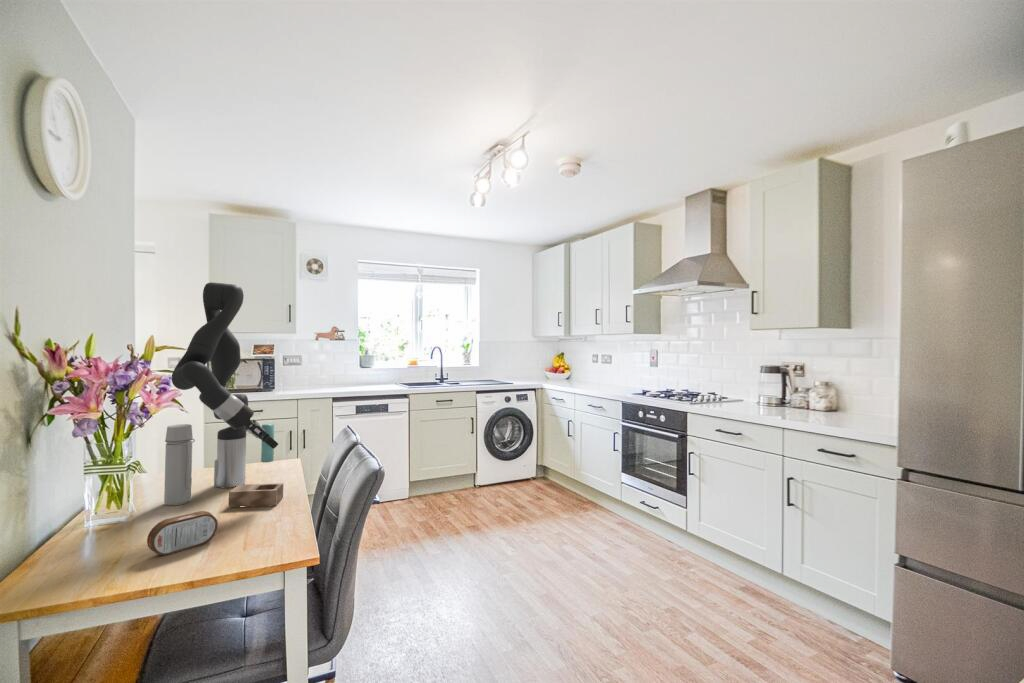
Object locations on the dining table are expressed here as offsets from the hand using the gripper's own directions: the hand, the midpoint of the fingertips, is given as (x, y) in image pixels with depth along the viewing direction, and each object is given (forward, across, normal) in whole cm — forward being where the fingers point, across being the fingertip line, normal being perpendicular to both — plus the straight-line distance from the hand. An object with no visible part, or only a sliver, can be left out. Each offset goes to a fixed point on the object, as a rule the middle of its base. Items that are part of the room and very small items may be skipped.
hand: (274, 445), depth 158 cm
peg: (+2, 0, +5) cm, 5 cm away
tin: (-6, -27, +32) cm, 42 cm away
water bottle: (-4, +15, +31) cm, 34 cm away
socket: (+10, +1, +16) cm, 19 cm away
